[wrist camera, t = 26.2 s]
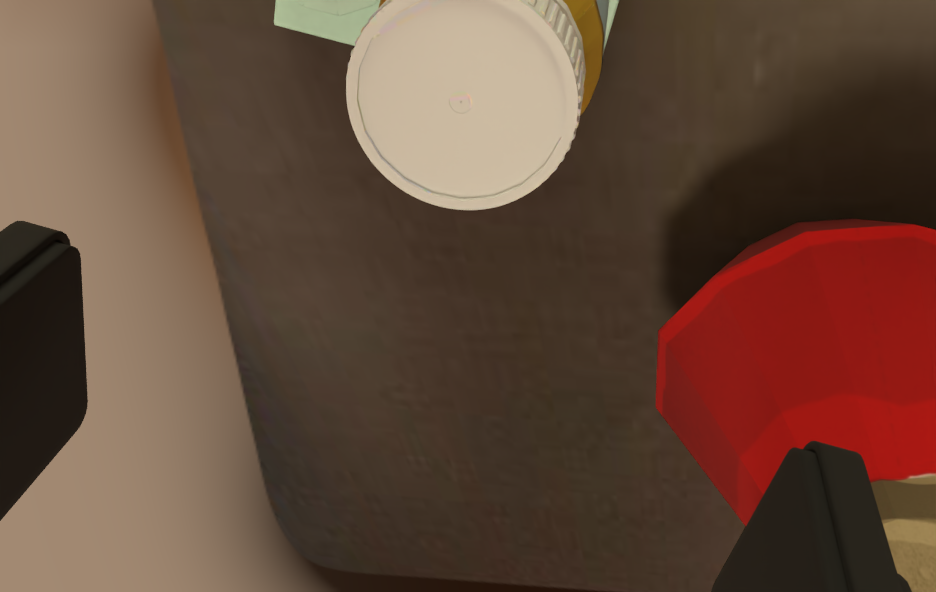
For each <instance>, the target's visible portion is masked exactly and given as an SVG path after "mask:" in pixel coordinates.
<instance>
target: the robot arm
mask: <svg viewBox="0 0 936 592" xmlns="http://www.w3.org/2000/svg"><path fill="white" fill-rule="evenodd" d="M86 381H87V380H86V360H85V340H84V318H83V297H82V276H81V258H80V253H79V251H78V249H77V248H75V247H73V246H70V240H69V239H68V237H67V235H66V234H64V233H63V232H61V231H57V230H53V229H50V228H46V227H43V226H39V225H36V224H32V223H28V222H25V221H16V222H14V223H12V224H10V225H9V226H8V227H6V228H5V229H3V230H2V231H1V232H0V521H1V519H2V518H3V517H4V516H5V515H6V513H7V512H8V511H9V510H10V509H11V508H12V506H13V505H14V504H15V503H16V502H17V500H18V499H19V498H20V497H21V496H22V495H23V493H24V492H25V491H26V490H27V489H28V488H29V486H30V485H31V484H32V483H33V482H34V480H35V479H36V478H37V477H38V476H39V475H40V473H41V472H42V471H43V470H44V469H45V467H46V466H47V465H48V464H49V463H50V462H51V460H52V459H53V458H54V457H55V456H56V455H57V453H58V452H59V451H60V450H61V449H62V448H63V446H64V445H65V444H66V443H67V442H68V440H69V439H70V438H71V437H72V436H73V435H74V433H75V432H76V431H77V430H78V428H79V427H80V425H81V423H82V421H83V419H84V416H85V414H86V409H87V402H88V400H87V382H86ZM711 592H912V591H911V588H910V586H909V584H908V582H907V581H906V580H905V579H904V578H903V577H902V576H901V575H900V574H897V570H896V567H895V564H894V560H893V557H892V554H891V550H890V547H889V544H888V540H887V537H886V533H885V530H884V527H883V523H882V520H881V517H880V513H879V510H878V507H877V503H876V500H875V496H874V493H873V490H872V486H871V483H870V480H869V476H868V473H867V470H866V466H865V463H864V460H863V458H862V456H861V455H860V454H859V453H857V452H854V451H851V450H847V449H843V448H840V447H836V446H833V445H829V444H825V443H822V442H818V441H810V442H809V443H808V444H806V446H805V447H804V448H803V449H800V448H796V447H793V448H791V449H790V450H789V451H788V453H787V454H786V456H785V457H784V459H783V461H782V463H781V465H780V466H779V468H778V470H777V472H776V473H775V475H774V477H773V479H772V481H771V482H770V484H769V486H768V488H767V490H766V491H765V493H764V495H763V497H762V498H761V500H760V502H759V504H758V506H757V507H756V509H755V511H754V513H753V515H752V516H751V518H750V520H749V522H748V523H747V525H746V527H745V529H744V531H743V532H742V534H741V536H740V538H739V540H738V541H737V543H736V545H735V547H734V548H733V550H732V552H731V554H730V556H729V557H728V559H727V561H726V563H725V565H724V566H723V568H722V570H721V572H720V573H719V575H718V577H717V579H716V581H715V583H714V585H713V588H712V591H711Z"/></svg>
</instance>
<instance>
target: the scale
mask: <svg viewBox="0 0 936 592" xmlns="http://www.w3.org/2000/svg"><path fill="white" fill-rule="evenodd" d="M618 2H619V0H609V7H608V17H607V26H606V35H605V44H604V49H605V46H606V43H607V39H608V36H609V33H610V29H611V26H612V23H613V19H614V16H615V12H616V9H617V6H618ZM379 4H380V0H276V3H275V15H274V25H276V26H280V27H284V28H288V29H292V30H296V31H299V32H303V33H307V34H311V35H315V36H319V37H323V38H326V39H330V40H334V41H338V42H342V43H346V44H349V45H353V46H355V45H356V44H355V41H356V39H357V38H358V37H359V36H360V35H361V30H362V28H363V27H364V26H365V25H366V24H367V23H368V19H369V18H370V17H371V16H372V15H373V14H374V13H375V12H376V11H377V9H378V8H379Z"/></svg>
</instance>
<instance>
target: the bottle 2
mask: <svg viewBox="0 0 936 592" xmlns="http://www.w3.org/2000/svg"><path fill="white" fill-rule="evenodd" d="M656 408H657V410H658V411H659V412H660V414H661V415H662V416H663V418H664V419H665V420H666V422H667V423H668V424H669V426H670V427H671V428H672V430H673V431H674V432H675V433H676V435H677V436H678V437H679V439H680V440H681V441H682V443H683V444H684V445H685V447H686V448H687V449H688V451H689V452H690V453H691V455H692V456H693V457H694V459H695V460H696V461H697V463H698V464H699V465H700V467H701V468H702V469H703V471H704V472H705V473H706V474H707V476H708V477H709V478H710V480H711V481H712V482H713V484H714V485H715V486H716V488H717V489H718V490H719V492H720V493H721V494H722V496H723V497H724V498H725V500H726V501H727V502H728V504H729V505H730V506H731V508H732V509H733V510H734V512H735V513H736V514H737V515H738V517H739V518H740V519H741V521H742V522H743V523H744V525H745V526H746V525H747V523H748V522H749V520H750V518H751V516H752V515H753V513H754V511H755V509H756V507H757V506H758V504H759V502H760V500H761V498H762V497H763V495H764V493H765V491H766V490H767V488H768V486H769V484H770V482H771V481H772V479H773V477H774V475H775V473H776V472H777V470H778V468H779V466H780V465H781V463H782V461H783V459H784V457H785V456H786V454H787V453H788V451H789V450H790V449H791V448H793V447H796V448H800V449H803V448H804V447H805V446H806V444H808V443H809V442H810V441H818V442H822V443H825V444H829V445H833V446H836V447H840V448H843V449H847V450H851V451H854V452H857V453H859V454H860V455H861V456H862V458H863V460H864V463H865V466H866V470H867V473H868V476H869V480H870V483H871V486H872V490H873V493H874V496H875V500H876V503H877V507H878V510H879V513H880V517H881V520H882V523H883V527H884V530H885V533H886V537H887V540H888V544H889V547H890V550H891V554H892V557H893V560H894V564H895V567H896V570H897V574H900V575H901V576H902V577H903V578H904V579H905V580H906V581H907V582H908V584H909V586H910V588H911V591H912V592H936V230H934V229H930V228H926V227H922V226H918V225H915V224H906V223H895V222H884V221H873V220H862V219H851V218H849V219H836V220H822V221H808V222H796V223H794V224H792V225H790V226H788V227H786V228H784V229H782V230H780V231H778V232H775V233H773V234H771V235H769V236H767V237H765V238H763V239H761V240H759V241H757V242H755V243H753V244H751V245H749V246H748V247H747V248H745V249H744V250H743V251H742V252H741V253H740V254H738V255H737V256H736V257H735V258H734V259H733V260H732V261H730V262H729V263H728V264H727V265H726V266H725V267H723V268H722V269H721V270H720V271H719V272H718V273H716V274H715V275H714V276H713V277H712V278H711V279H710V280H709V281H708V282H707V283H706V284H705V285H704V286H703V287H702V288H701V289H700V290H699V291H698V292H697V293H696V294H695V295H694V296H693V297H692V298H691V299H690V300H689V301H688V302H687V303H686V304H685V305H684V306H683V307H682V308H681V309H680V310H679V311H678V312H677V313H676V314H675V315H674V316H673V317H672V318H671V319H670V320H669V321H668V322H667V323H666V324H665V325H664V326H662V327H661V328H660V329H659V330H658V352H657V383H656Z"/></svg>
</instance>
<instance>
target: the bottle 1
mask: <svg viewBox="0 0 936 592" xmlns="http://www.w3.org/2000/svg"><path fill="white" fill-rule="evenodd" d="M608 7H609V0H380V4H379V8H378V9H377V11H376V12H375V13H374V14H373V15H372V16H371V17H370V18H369V19H368V23H367V24H366V25H365V26H364V27H363V28H362V30H361V35H360V36H359V37H358V38H357V39H356V41H355V44H356V45H355V47H354V49H353V50H352V52H351V58H350V62H349V63H348V72H347V75H346V99H347V107H348V112H349V117H350V121H351V124H352V127H353V130H354V132H355V135H356V137H357V139H358V141H359V143H360V145H361V147H362V149H363V150H364V152H365V153H366V155H367V156H368V158H369V159H370V161H371V162H372V163H373V164H374V166H375V167H376V168H377V169H378V170H379V171H380V172H381V173H382V174H383V175H384V176H385V177H386V178H387V179H388V180H389V181H391V182H392V183H393V184H394V185H396V186H397V187H398V188H400V189H401V190H403V191H405V192H406V193H408V194H410V195H411V196H413V197H415V198H417V199H420V200H422V201H424V202H427V203H430V204H433V205H436V206H440V207H444V208H450V209H457V210H481V209H488V208H493V207H498V206H501V205H504V204H507V203H510V202H513V201H515V200H517V199H519V198H521V197H523V196H525V195H526V194H528V193H530V192H531V191H533V190H534V189H535V188H537V187H538V186H540V184H542V183H543V182H544V181H545V180H547V179H548V178H549V176H550V175H551V174H552V173H553V172H554V171H555V170H556V169H557V167H558V165H559V164H560V162H562V161H563V160H564V158H565V154H566V152H567V151H569V149H570V147H571V142H572V140H573V139H574V138H575V135H576V128H577V127H578V124H579V119H580V115H581V114H582V113H583V112H584V111H585V109H586V107H587V106H588V104H589V102H590V99H591V97H592V94H593V92H594V89H595V87H596V84H597V82H598V79H599V75H600V72H601V67H602V63H603V54H604V44H605V35H606V26H607V17H608Z"/></svg>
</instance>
